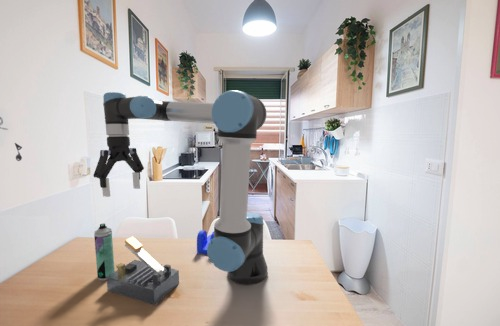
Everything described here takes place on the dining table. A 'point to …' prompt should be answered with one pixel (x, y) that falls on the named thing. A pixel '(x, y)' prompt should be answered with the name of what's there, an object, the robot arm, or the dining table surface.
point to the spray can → (104, 252)
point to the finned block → (142, 282)
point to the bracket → (203, 241)
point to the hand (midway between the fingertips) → (122, 192)
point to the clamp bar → (144, 256)
